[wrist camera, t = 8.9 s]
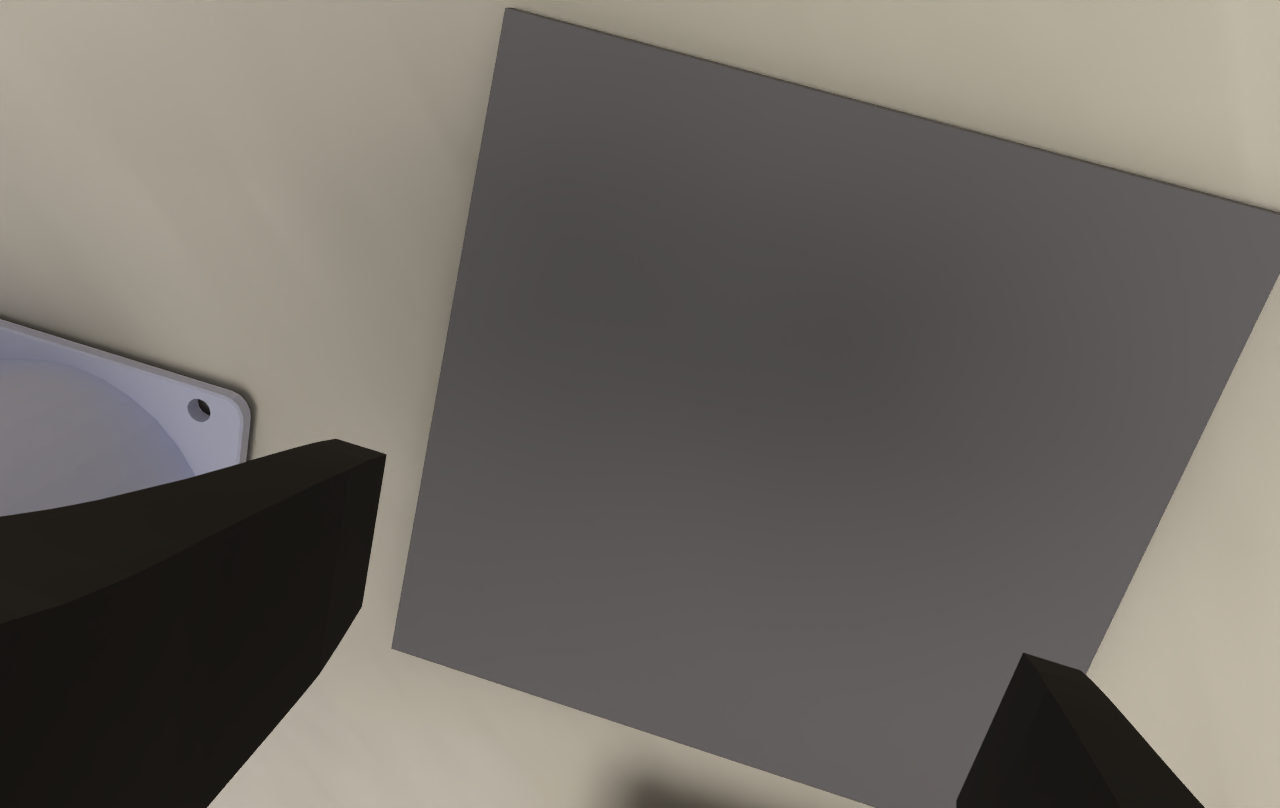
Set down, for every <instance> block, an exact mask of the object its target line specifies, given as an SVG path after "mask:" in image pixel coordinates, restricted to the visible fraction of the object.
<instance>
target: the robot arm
mask: <svg viewBox="0 0 1280 808" xmlns="http://www.w3.org/2000/svg"><path fill="white" fill-rule="evenodd" d="M198 399H201V400H202V401H204V402H206V404H207V405H208V406H209V408H210V415H207V414H206V413H204V412H203V411H202V410H201V409H200V407H199V404H198ZM250 421H251V415H250V409H249V407H248V404H247V402H246V401H245V400H244V399H243V398H242V397H241V396H240V395H239V394H237V393H235V392H233V391H231V390H228V389H225V388H222V387H218V386H215V385H212V384H209V383H205V382H202V381H199V380H196V379H192V378H189V377H186V376H183V375H180V374H176V373H173V372H170V371H167V370H163V369H160V368H157V367H154V366H150V365H147V364H144V363H141V362H138V361H134V360H131V359H128V358H125V357H121V356H118V355H115V354H112V353H108V352H105V351H102V350H99V349H96V348H92V347H89V346H86V345H83V344H79V343H76V342H73V341H70V340H66V339H63V338H60V337H57V336H54V335H50V334H47V333H44V332H41V331H37V330H34V329H31V328H28V327H24V326H21V325H18V324H15V323H12V322H8V321H5V320H2V319H0V808H207V807H208V806H209V804H210V803H211V802H212V801H213V800H214V799H215V797H216V796H217V795H218V794H219V793H220V791H221V790H222V789H223V788H224V787H225V786H226V784H227V783H228V782H229V781H230V780H231V779H232V777H233V776H234V775H235V774H236V773H237V772H238V770H239V769H240V768H241V767H242V766H243V765H244V763H245V762H246V761H247V760H248V759H249V757H250V756H251V755H252V754H253V753H254V752H255V750H256V749H257V748H258V747H259V746H260V745H261V743H262V742H263V741H264V740H265V739H266V738H267V736H268V735H269V734H270V733H271V732H272V731H273V729H274V728H275V727H276V726H277V725H278V723H279V722H280V721H281V720H282V719H283V718H284V716H285V715H286V714H287V713H288V712H289V710H290V709H291V708H292V707H293V706H294V704H295V703H296V702H297V701H298V700H299V698H300V697H301V696H302V695H303V694H304V692H305V691H306V690H307V689H308V688H309V686H310V685H311V684H312V683H313V681H314V680H315V679H316V678H317V677H318V675H319V674H320V672H321V671H322V669H323V668H324V666H325V665H326V663H327V662H328V660H329V659H330V657H331V655H332V654H333V652H334V651H335V649H336V648H337V646H338V645H339V643H340V641H341V640H342V638H343V637H344V635H345V633H346V632H347V630H348V628H349V627H350V625H351V623H352V622H353V620H354V619H355V617H356V615H357V614H358V612H359V610H360V609H361V607H362V603H363V596H364V590H365V584H366V578H367V572H368V566H369V559H370V553H371V547H372V541H373V535H374V529H375V522H376V516H377V510H378V504H379V498H380V492H381V485H382V479H383V473H384V467H385V461H386V455H387V454H383V453H380V452H377V451H374V450H371V449H367V448H364V447H361V446H358V445H354V444H351V443H348V442H345V441H342V440H338V439H332V440H326V441H321V442H316V443H312V444H308V445H304V446H300V447H297V448H293V449H289V450H286V451H282V452H279V453H275V454H272V455H268V456H265V457H261V458H258V459H254V460H251V461H247V462H246V458H247V449H248V439H249V430H250ZM956 808H1205V807H1204V806H1203V805H1202V804H1201V803H1200V802H1199V801H1198V800H1197V799H1196V798H1195V796H1194V795H1193V794H1192V793H1191V792H1190V791H1189V790H1188V789H1187V787H1186V786H1185V785H1184V784H1183V783H1182V782H1181V781H1180V779H1179V778H1178V777H1177V776H1176V775H1175V774H1174V773H1173V772H1172V770H1171V769H1170V768H1169V767H1168V766H1167V765H1166V764H1165V762H1164V761H1163V760H1162V759H1161V758H1160V757H1159V756H1158V754H1157V753H1156V752H1155V751H1154V750H1153V749H1152V747H1151V746H1150V745H1149V744H1148V743H1147V742H1146V741H1145V739H1144V738H1143V737H1142V736H1141V735H1140V734H1139V732H1138V731H1137V730H1136V729H1135V728H1134V727H1133V726H1132V724H1131V723H1130V722H1129V721H1128V720H1127V719H1126V718H1125V716H1124V715H1123V714H1122V713H1121V712H1120V711H1119V710H1118V708H1117V707H1116V706H1115V705H1114V704H1113V703H1112V702H1111V701H1110V699H1109V698H1108V697H1107V696H1106V695H1105V694H1104V693H1103V692H1102V691H1101V690H1100V689H1099V688H1098V687H1097V686H1096V685H1095V683H1094V682H1093V681H1092V680H1091V679H1089V678H1088V677H1087V676H1086V675H1085V674H1084V673H1083V672H1082V671H1081V670H1078V669H1075V668H1072V667H1068V666H1065V665H1062V664H1059V663H1056V662H1052V661H1049V660H1046V659H1043V658H1039V657H1036V656H1033V655H1030V654H1027V653H1023V654H1022V656H1021V658H1020V661H1019V663H1018V665H1017V667H1016V669H1015V672H1014V674H1013V676H1012V678H1011V680H1010V683H1009V685H1008V687H1007V689H1006V692H1005V694H1004V696H1003V698H1002V700H1001V703H1000V705H999V707H998V709H997V711H996V714H995V716H994V718H993V720H992V723H991V725H990V727H989V729H988V731H987V734H986V736H985V738H984V740H983V742H982V745H981V747H980V749H979V751H978V754H977V756H976V758H975V760H974V762H973V765H972V767H971V769H970V771H969V773H968V776H967V778H966V780H965V782H964V784H963V787H962V789H961V791H960V793H959V796H958V798H957V800H956Z"/></svg>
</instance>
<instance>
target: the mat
mask: <svg viewBox="0 0 1280 808" xmlns="http://www.w3.org/2000/svg"><path fill="white" fill-rule="evenodd" d="M1279 274H1280V213H1278V212H1274V211H1270V210H1267V209H1263V208H1259V207H1255V206H1252V205H1248V204H1244V203H1240V202H1237V201H1233V200H1229V199H1225V198H1222V197H1218V196H1214V195H1210V194H1207V193H1203V192H1199V191H1195V190H1192V189H1188V188H1184V187H1180V186H1177V185H1173V184H1169V183H1166V182H1162V181H1158V180H1154V179H1151V178H1147V177H1143V176H1139V175H1136V174H1132V173H1128V172H1124V171H1121V170H1117V169H1113V168H1109V167H1106V166H1102V165H1098V164H1094V163H1091V162H1087V161H1083V160H1079V159H1076V158H1072V157H1068V156H1064V155H1061V154H1057V153H1053V152H1049V151H1046V150H1042V149H1038V148H1034V147H1031V146H1027V145H1023V144H1020V143H1016V142H1012V141H1008V140H1005V139H1001V138H997V137H993V136H990V135H986V134H982V133H978V132H975V131H971V130H967V129H963V128H960V127H956V126H952V125H948V124H945V123H941V122H937V121H933V120H930V119H926V118H922V117H918V116H915V115H911V114H907V113H903V112H900V111H896V110H892V109H889V108H885V107H881V106H877V105H874V104H870V103H866V102H862V101H859V100H855V99H851V98H847V97H844V96H840V95H836V94H832V93H829V92H825V91H821V90H817V89H814V88H810V87H806V86H802V85H799V84H795V83H791V82H787V81H784V80H780V79H776V78H772V77H769V76H765V75H761V74H758V73H754V72H750V71H746V70H743V69H739V68H735V67H731V66H728V65H724V64H720V63H716V62H713V61H709V60H705V59H701V58H698V57H694V56H690V55H686V54H683V53H679V52H675V51H671V50H668V49H664V48H660V47H656V46H653V45H649V44H645V43H641V42H638V41H634V40H630V39H627V38H623V37H619V36H615V35H612V34H608V33H604V32H600V31H597V30H593V29H589V28H585V27H582V26H578V25H574V24H570V23H567V22H563V21H559V20H555V19H552V18H548V17H544V16H540V15H537V14H533V13H529V12H525V11H522V10H518V9H514V8H505V13H504V18H503V24H502V29H501V35H500V41H499V46H498V52H497V58H496V63H495V69H494V74H493V80H492V86H491V91H490V97H489V103H488V108H487V114H486V119H485V125H484V131H483V136H482V142H481V148H480V153H479V159H478V164H477V170H476V176H475V181H474V187H473V193H472V198H471V204H470V209H469V215H468V221H467V226H466V232H465V238H464V243H463V249H462V254H461V260H460V266H459V271H458V277H457V283H456V288H455V294H454V299H453V305H452V311H451V316H450V322H449V328H448V333H447V339H446V344H445V350H444V356H443V361H442V367H441V373H440V378H439V384H438V389H437V395H436V401H435V406H434V412H433V418H432V423H431V429H430V434H429V440H428V446H427V451H426V457H425V462H424V468H423V474H422V479H421V485H420V491H419V496H418V502H417V507H416V513H415V519H414V524H413V530H412V536H411V541H410V547H409V552H408V558H407V564H406V569H405V575H404V581H403V586H402V592H401V597H400V603H399V609H398V614H397V620H396V626H395V631H394V637H393V642H392V649H395V650H398V651H401V652H404V653H407V654H410V655H413V656H416V657H419V658H422V659H425V660H428V661H431V662H434V663H437V664H440V665H443V666H446V667H449V668H452V669H455V670H458V671H462V672H465V673H468V674H471V675H474V676H477V677H480V678H483V679H486V680H489V681H492V682H495V683H498V684H501V685H504V686H507V687H510V688H513V689H516V690H519V691H522V692H525V693H529V694H532V695H535V696H538V697H541V698H544V699H547V700H550V701H553V702H556V703H559V704H562V705H565V706H568V707H571V708H574V709H577V710H580V711H583V712H586V713H589V714H592V715H595V716H599V717H602V718H605V719H608V720H611V721H614V722H617V723H620V724H623V725H626V726H629V727H632V728H635V729H638V730H641V731H644V732H647V733H650V734H653V735H656V736H659V737H662V738H666V739H669V740H672V741H675V742H678V743H681V744H684V745H687V746H690V747H693V748H696V749H699V750H702V751H705V752H708V753H711V754H714V755H717V756H720V757H723V758H726V759H729V760H732V761H736V762H739V763H742V764H745V765H748V766H751V767H754V768H757V769H760V770H763V771H766V772H769V773H772V774H775V775H778V776H781V777H784V778H787V779H790V780H793V781H796V782H799V783H802V784H806V785H809V786H812V787H815V788H818V789H821V790H824V791H827V792H830V793H833V794H836V795H839V796H842V797H845V798H848V799H851V800H854V801H857V802H860V803H863V804H866V805H869V806H873V807H876V808H956V800H957V798H958V796H959V793H960V791H961V789H962V787H963V784H964V782H965V780H966V778H967V776H968V773H969V771H970V769H971V767H972V765H973V762H974V760H975V758H976V756H977V754H978V751H979V749H980V747H981V745H982V742H983V740H984V738H985V736H986V734H987V731H988V729H989V727H990V725H991V723H992V720H993V718H994V716H995V714H996V711H997V709H998V707H999V705H1000V703H1001V700H1002V698H1003V696H1004V694H1005V692H1006V689H1007V687H1008V685H1009V683H1010V680H1011V678H1012V676H1013V674H1014V672H1015V669H1016V667H1017V665H1018V663H1019V661H1020V658H1021V656H1022V654H1023V653H1027V654H1030V655H1033V656H1036V657H1039V658H1043V659H1046V660H1049V661H1052V662H1056V663H1059V664H1062V665H1065V666H1068V667H1072V668H1075V669H1078V670H1081V671H1082V672H1083V673H1084V674H1085V675H1086V673H1087V671H1088V669H1089V667H1090V664H1091V662H1092V660H1093V658H1094V656H1095V654H1096V652H1097V650H1098V648H1099V646H1100V644H1101V642H1102V640H1103V638H1104V636H1105V633H1106V631H1107V629H1108V627H1109V625H1110V623H1111V621H1112V619H1113V617H1114V615H1115V613H1116V611H1117V609H1118V607H1119V604H1120V602H1121V600H1122V598H1123V596H1124V594H1125V592H1126V590H1127V588H1128V586H1129V584H1130V582H1131V580H1132V578H1133V576H1134V573H1135V571H1136V569H1137V567H1138V565H1139V563H1140V561H1141V559H1142V557H1143V555H1144V553H1145V551H1146V549H1147V547H1148V545H1149V542H1150V540H1151V538H1152V536H1153V534H1154V532H1155V530H1156V528H1157V526H1158V524H1159V522H1160V520H1161V518H1162V516H1163V514H1164V511H1165V509H1166V507H1167V505H1168V503H1169V501H1170V499H1171V497H1172V495H1173V493H1174V491H1175V489H1176V487H1177V485H1178V482H1179V480H1180V478H1181V476H1182V474H1183V472H1184V470H1185V468H1186V466H1187V464H1188V462H1189V460H1190V458H1191V456H1192V454H1193V451H1194V449H1195V447H1196V445H1197V443H1198V441H1199V439H1200V437H1201V435H1202V433H1203V431H1204V429H1205V427H1206V425H1207V423H1208V420H1209V418H1210V416H1211V414H1212V412H1213V410H1214V408H1215V406H1216V404H1217V402H1218V400H1219V398H1220V396H1221V394H1222V391H1223V389H1224V387H1225V385H1226V383H1227V381H1228V379H1229V377H1230V375H1231V373H1232V371H1233V369H1234V367H1235V365H1236V363H1237V360H1238V358H1239V356H1240V354H1241V352H1242V350H1243V348H1244V346H1245V344H1246V342H1247V340H1248V338H1249V336H1250V334H1251V332H1252V329H1253V327H1254V325H1255V323H1256V321H1257V319H1258V317H1259V315H1260V313H1261V311H1262V309H1263V307H1264V305H1265V303H1266V301H1267V298H1268V296H1269V294H1270V292H1271V290H1272V288H1273V286H1274V284H1275V282H1276V280H1277V278H1278V276H1279Z"/></svg>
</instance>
